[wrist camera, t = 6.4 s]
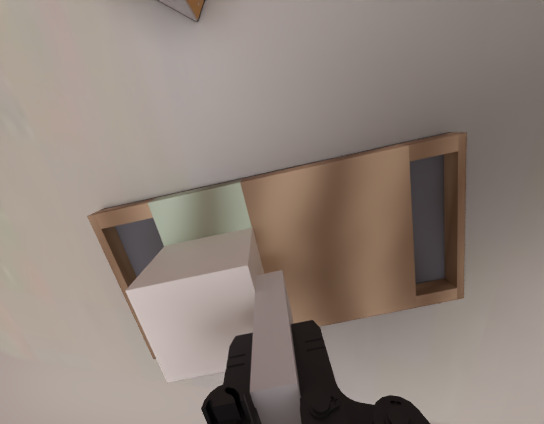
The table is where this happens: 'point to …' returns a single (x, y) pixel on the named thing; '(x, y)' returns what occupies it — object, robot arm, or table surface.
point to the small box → (186, 7)
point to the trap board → (323, 228)
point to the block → (197, 301)
